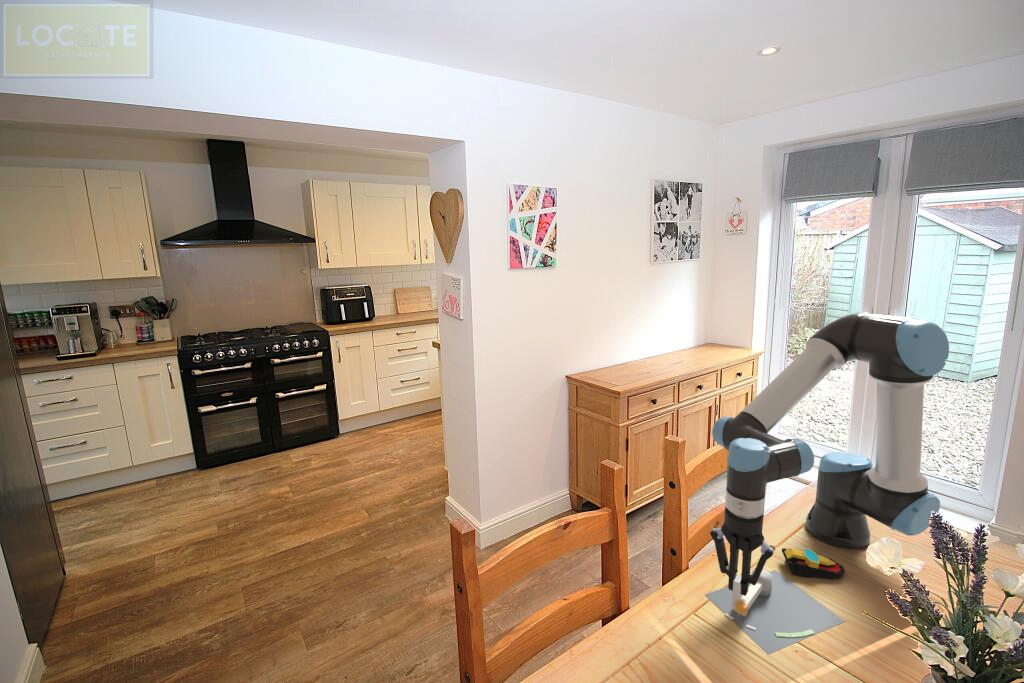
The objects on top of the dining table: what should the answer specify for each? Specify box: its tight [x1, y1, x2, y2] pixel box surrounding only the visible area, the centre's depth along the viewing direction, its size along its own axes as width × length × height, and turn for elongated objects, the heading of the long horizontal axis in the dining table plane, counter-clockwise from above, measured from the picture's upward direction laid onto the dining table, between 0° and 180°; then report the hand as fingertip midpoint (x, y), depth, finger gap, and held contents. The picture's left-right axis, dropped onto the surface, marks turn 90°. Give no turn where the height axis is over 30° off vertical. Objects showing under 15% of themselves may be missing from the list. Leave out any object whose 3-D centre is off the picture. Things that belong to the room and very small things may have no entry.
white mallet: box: [735, 568, 773, 616], centre depth 111 cm, size 15×4×4 cm, turn 134°
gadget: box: [781, 547, 846, 580], centre depth 121 cm, size 6×13×6 cm, turn 75°
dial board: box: [704, 569, 846, 655], centre depth 110 cm, size 22×18×1 cm
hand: (737, 603), depth 109 cm, fingers closed
